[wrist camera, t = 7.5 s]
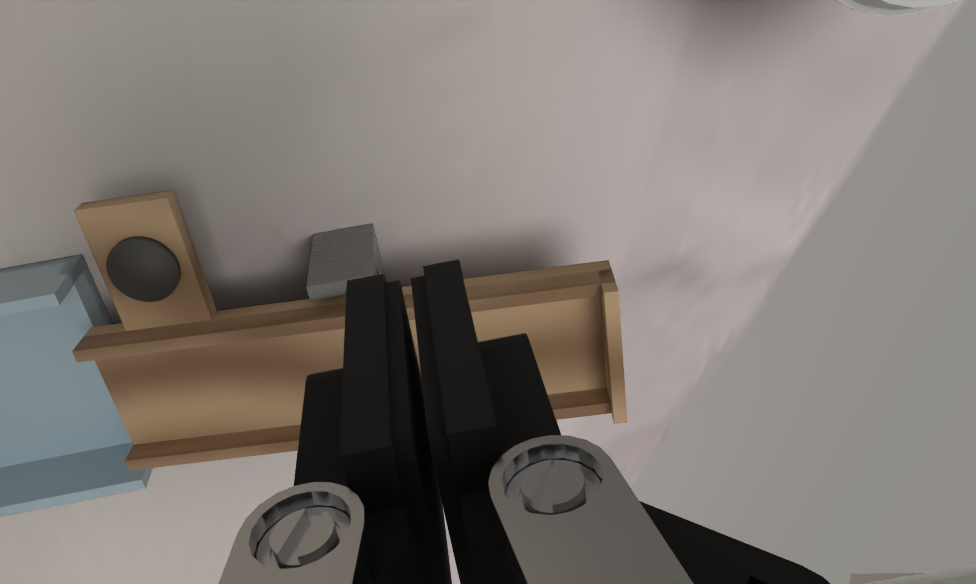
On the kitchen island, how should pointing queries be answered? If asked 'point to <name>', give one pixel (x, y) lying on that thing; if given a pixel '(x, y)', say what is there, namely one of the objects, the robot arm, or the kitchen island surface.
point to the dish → (56, 393)
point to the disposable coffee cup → (894, 6)
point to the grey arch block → (342, 260)
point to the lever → (297, 340)
